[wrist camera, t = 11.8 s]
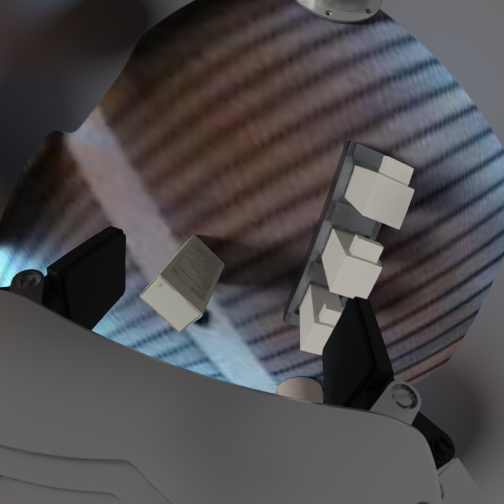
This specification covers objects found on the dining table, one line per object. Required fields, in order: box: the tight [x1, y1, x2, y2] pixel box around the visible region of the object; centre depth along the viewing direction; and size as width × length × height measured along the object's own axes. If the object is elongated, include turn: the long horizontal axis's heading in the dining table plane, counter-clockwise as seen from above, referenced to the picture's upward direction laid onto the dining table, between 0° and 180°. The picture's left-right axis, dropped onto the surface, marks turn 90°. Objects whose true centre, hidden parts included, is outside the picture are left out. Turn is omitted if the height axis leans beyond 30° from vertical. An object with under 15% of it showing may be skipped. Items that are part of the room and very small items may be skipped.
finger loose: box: [300, 282, 346, 355], centre depth 32 cm, size 6×5×9 cm
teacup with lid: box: [276, 377, 323, 403], centre depth 42 cm, size 12×9×12 cm
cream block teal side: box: [344, 156, 414, 229], centre depth 26 cm, size 6×5×9 cm
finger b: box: [321, 227, 384, 299], centre depth 29 cm, size 6×5×9 cm
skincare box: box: [140, 235, 225, 332], centre depth 33 cm, size 6×4×12 cm
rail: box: [283, 141, 386, 326], centre depth 34 cm, size 25×7×3 cm, turn 164°
